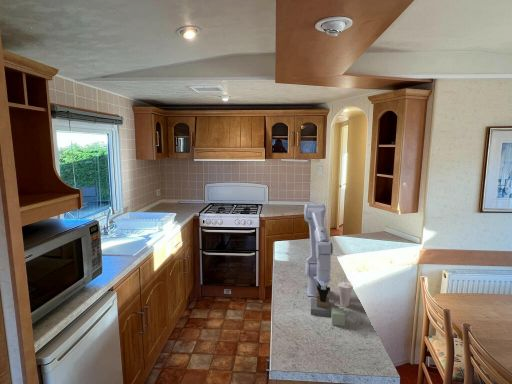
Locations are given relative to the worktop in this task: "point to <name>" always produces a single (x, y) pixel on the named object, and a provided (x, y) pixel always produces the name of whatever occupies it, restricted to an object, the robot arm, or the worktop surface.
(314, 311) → the charcoal slab
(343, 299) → the smoothie
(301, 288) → the worktop surface
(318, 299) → the walnut cube
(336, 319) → the sage block
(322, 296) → the robot arm
